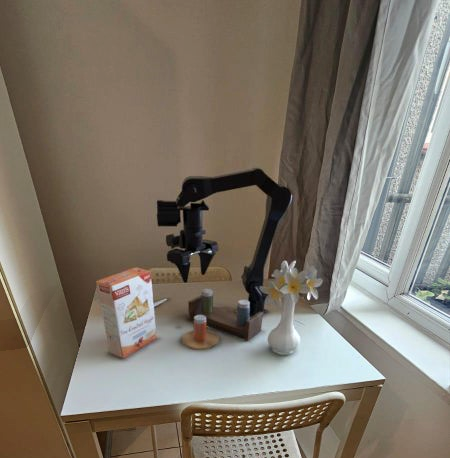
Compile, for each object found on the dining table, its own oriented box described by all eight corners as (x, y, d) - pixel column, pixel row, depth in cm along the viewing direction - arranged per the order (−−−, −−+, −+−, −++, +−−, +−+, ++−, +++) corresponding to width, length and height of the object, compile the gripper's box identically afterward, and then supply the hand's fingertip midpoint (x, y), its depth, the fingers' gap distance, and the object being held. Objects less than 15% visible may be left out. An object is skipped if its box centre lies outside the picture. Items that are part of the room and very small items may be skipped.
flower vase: (247, 358, 94) (255, 269, 79) (276, 332, 107) (287, 251, 92) (290, 373, 89) (306, 281, 74) (314, 344, 102) (333, 260, 86)
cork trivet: (197, 328, 108) (197, 326, 107) (225, 338, 103) (225, 337, 102) (174, 341, 100) (174, 340, 100) (203, 353, 96) (203, 352, 95)
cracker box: (124, 360, 92) (111, 285, 79) (108, 353, 94) (93, 280, 82) (158, 339, 101) (151, 270, 89) (143, 333, 104) (134, 265, 91)
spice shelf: (203, 311, 118) (203, 294, 114) (261, 331, 107) (263, 312, 103) (188, 319, 112) (188, 301, 109) (247, 341, 102) (249, 321, 98)
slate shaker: (240, 319, 107) (242, 298, 103) (250, 322, 105) (252, 301, 101) (234, 323, 105) (235, 302, 100) (244, 327, 103) (245, 305, 99)
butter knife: (110, 324, 107) (117, 326, 105) (163, 297, 126) (169, 299, 124) (110, 326, 107) (117, 328, 106) (163, 299, 126) (169, 300, 125)
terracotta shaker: (199, 334, 103) (199, 313, 99) (209, 338, 102) (209, 316, 98) (191, 339, 101) (190, 317, 97) (201, 343, 99) (201, 321, 95)
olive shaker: (206, 307, 113) (206, 287, 109) (215, 310, 112) (215, 290, 107) (199, 311, 111) (198, 291, 107) (208, 314, 109) (208, 294, 105)
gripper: (191, 217, 109) (193, 266, 118) (150, 227, 97) (155, 280, 106) (219, 223, 104) (218, 273, 113) (180, 234, 92) (182, 289, 101)
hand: (194, 278), depth 109 cm, fingers open, 9 cm apart
